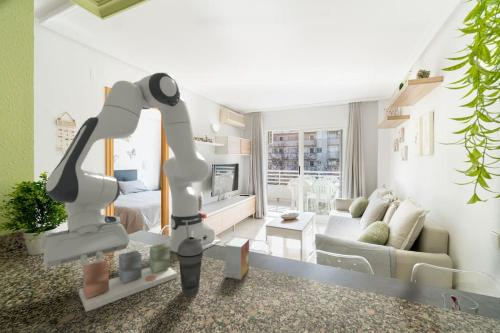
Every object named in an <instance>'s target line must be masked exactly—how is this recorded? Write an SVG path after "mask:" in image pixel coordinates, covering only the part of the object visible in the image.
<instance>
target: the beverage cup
mask: <svg viewBox="0 0 500 333" xmlns="http://www.w3.org/2000/svg"><path fill="white" fill-rule="evenodd" d="M186 230H187V238H186V239H184V240H183V241H182V242H181V243H180V245H179V247H178V252H176V255H177V259H178V263H179V274H180V288H181V291H182V292H181V294H182V295H183V296H184V297H193V295H194V296H196V295H197V294H199V288H200V281H201V280H200V279H201V270H202V259H203V256H204V255H203V254H204V250H203V247H202V244H201V242H200V241H199V240H198V239H197V238H195V237H189V232H188V223H187V222H186Z"/></svg>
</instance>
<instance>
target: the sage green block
mask: <svg viewBox="0 0 500 333" xmlns="http://www.w3.org/2000/svg"><path fill="white" fill-rule="evenodd" d="M149 267H150V269H151V270H152V271H153V272H158V271H161V270H164V269H167V268H171V250H170V246H169V244H167V243H161V244H157V245H153V246H149Z"/></svg>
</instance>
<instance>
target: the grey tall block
mask: <svg viewBox="0 0 500 333" xmlns="http://www.w3.org/2000/svg"><path fill="white" fill-rule="evenodd" d="M141 270H142V253H140V252H139V251H138V250H133V251H129V252H125V253H122V254H118V277H119V278H120V280H121V281H122V282H123V283H125V282H128V281H131V280H134V279H137V278H140V277H141Z"/></svg>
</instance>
